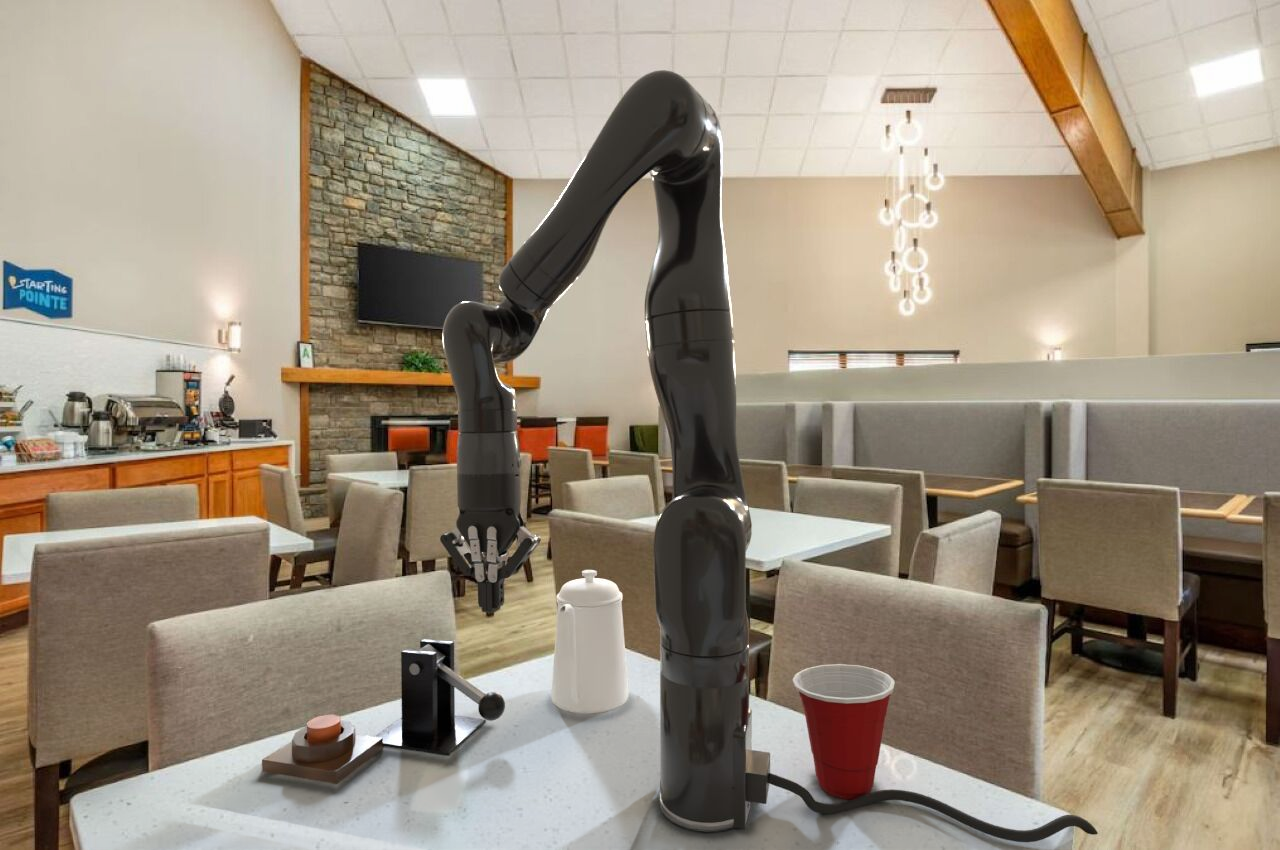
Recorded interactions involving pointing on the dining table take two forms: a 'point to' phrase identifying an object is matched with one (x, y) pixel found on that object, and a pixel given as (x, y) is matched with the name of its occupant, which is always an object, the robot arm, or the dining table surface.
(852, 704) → the plastic cup
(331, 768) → the button base
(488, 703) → the lever
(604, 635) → the coffeepot
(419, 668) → the lever base
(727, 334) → the robot arm
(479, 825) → the dining table surface
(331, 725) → the warm button
